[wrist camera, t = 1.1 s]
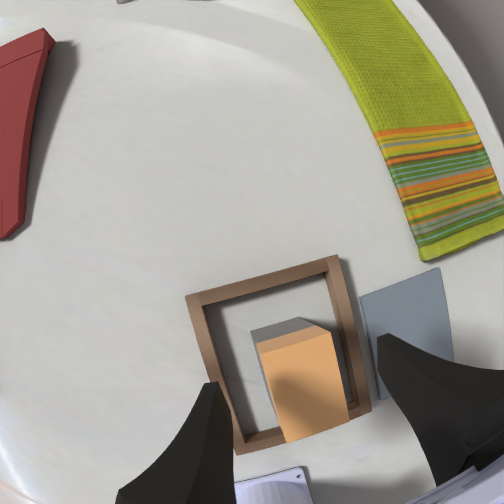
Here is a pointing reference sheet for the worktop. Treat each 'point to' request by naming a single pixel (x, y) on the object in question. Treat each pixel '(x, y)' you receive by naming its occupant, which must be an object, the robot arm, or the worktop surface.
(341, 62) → the dish towel
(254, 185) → the worktop surface
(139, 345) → the worktop surface
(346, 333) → the frame
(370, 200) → the worktop surface
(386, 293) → the mat
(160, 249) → the worktop surface
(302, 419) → the orange grey tall block
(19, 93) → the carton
